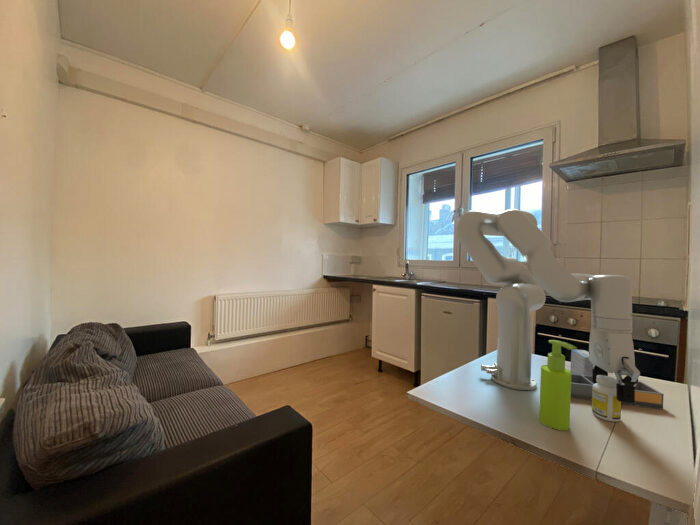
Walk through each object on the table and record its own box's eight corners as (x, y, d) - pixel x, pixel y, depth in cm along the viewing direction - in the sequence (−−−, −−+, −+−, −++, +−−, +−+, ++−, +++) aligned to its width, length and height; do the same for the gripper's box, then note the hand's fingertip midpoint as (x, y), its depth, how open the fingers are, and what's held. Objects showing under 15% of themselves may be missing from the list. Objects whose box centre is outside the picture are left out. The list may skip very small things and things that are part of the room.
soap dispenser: (561, 435, 62) (564, 347, 62) (533, 418, 69) (536, 338, 69) (580, 431, 64) (583, 345, 64) (551, 414, 71) (554, 336, 70)
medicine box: (600, 385, 89) (601, 358, 88) (584, 383, 89) (585, 356, 89) (584, 374, 96) (585, 350, 96) (569, 373, 97) (570, 348, 97)
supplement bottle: (616, 414, 72) (618, 376, 71) (623, 425, 67) (625, 384, 67) (589, 408, 74) (590, 371, 74) (594, 418, 70) (595, 379, 69)
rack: (564, 396, 80) (564, 382, 80) (551, 384, 88) (552, 371, 88) (663, 409, 74) (664, 394, 74) (640, 394, 82) (641, 381, 82)
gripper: (575, 317, 79) (576, 377, 79) (615, 330, 62) (616, 407, 62) (607, 318, 77) (608, 380, 77) (657, 332, 60) (658, 412, 60)
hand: (612, 392), depth 70 cm, fingers open, 9 cm apart
